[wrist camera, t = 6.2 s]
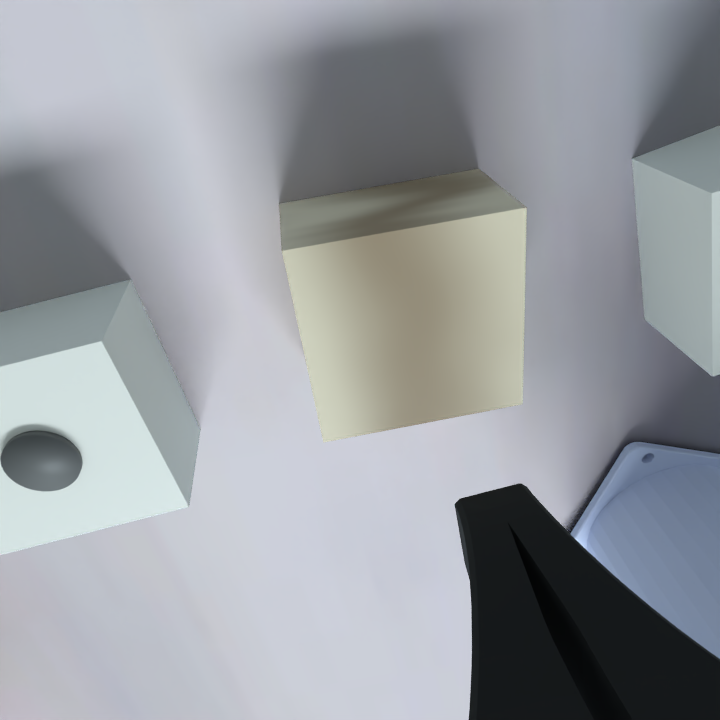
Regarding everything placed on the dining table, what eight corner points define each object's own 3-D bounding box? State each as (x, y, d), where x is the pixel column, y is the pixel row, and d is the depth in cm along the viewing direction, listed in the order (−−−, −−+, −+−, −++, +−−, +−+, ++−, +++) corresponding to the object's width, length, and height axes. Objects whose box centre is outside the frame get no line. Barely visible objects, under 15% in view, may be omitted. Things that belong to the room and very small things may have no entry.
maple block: (476, 167, 18) (526, 207, 14) (481, 338, 21) (522, 404, 17) (279, 201, 17) (281, 251, 14) (314, 369, 21) (323, 442, 17)
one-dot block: (132, 276, 18) (99, 345, 14) (201, 425, 21) (188, 511, 18) (-60, 324, 18) (-140, 405, 14) (39, 467, 21) (-7, 561, 18)
